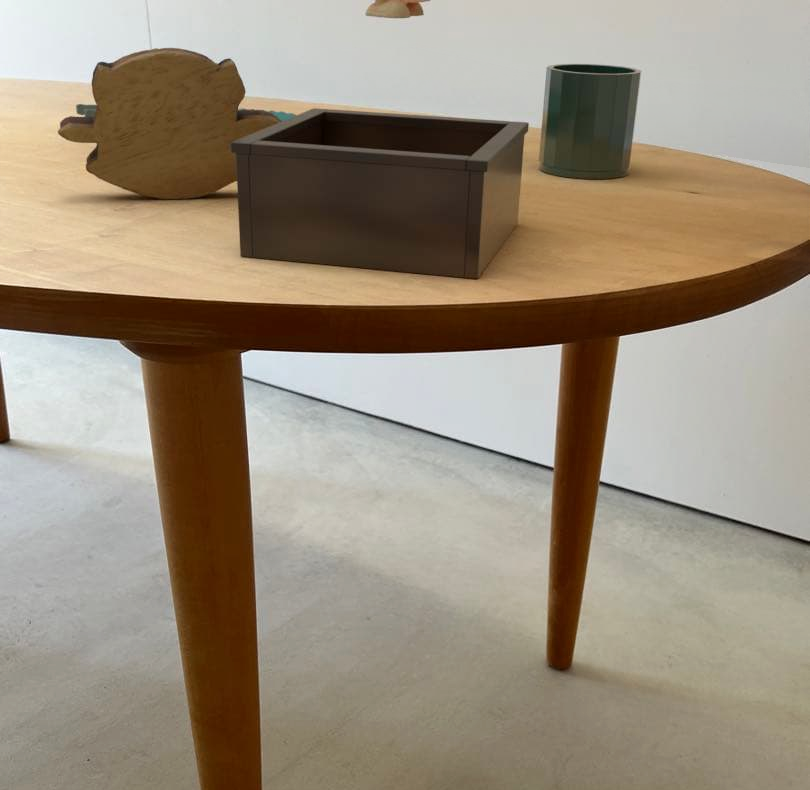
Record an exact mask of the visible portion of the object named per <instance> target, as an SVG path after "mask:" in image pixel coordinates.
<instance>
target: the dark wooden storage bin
mask: <svg viewBox="0 0 810 790" xmlns="http://www.w3.org/2000/svg"><path fill="white" fill-rule="evenodd" d="M295 115H296V116H294V117H291V118H289V119H287V120H284V121H282V122H279V123H277V124H274V125H272V126H270V127H267V128H265V129H262V130H260V131H257V132H255V133H253V134H250V135H248V136H245V137H243V138H240V139H238V140H236V141H233V142H231V152H232V153H236V166H237V181H236V186H237V188H236V189H237V206H238V207H237V208H238V230H239V231H238V232H239V233H238V234H239V253H240V257H245V258H255V259H264V260H265V259H266V260H277V261H286V262H296V263H307V264H318V265H327V266H328V265H329V266H337V267H349V268H359V269H369V270H379V271H389V272H401V273H409V274H410V273H411V274H422V275H430V276H431V275H433V276H443V277H451V278H452V277H453V278H462V279H463V278H465V279H474V280H478V279H479V277H480V276H481V275H482V273H483V272H484V271H485V269H486V268H487V267H488V265H489V263H491V261H492V260H493V258H494V257H495V255H496V254H497V253H498V251H499V250H500V249H501V247H502V246H503V244H504V243H505V241H506V240H507V239H508V238H509V236H510V235H511V234H512V232H513V231H514V229H515V228H516V227H517V225H518V223H519V211H520V198H521V185H522V172H523V160H524V159H523V158H524V145H525V135H526V134H527V133H528V132H529V124H530V123H529V122H525V121H509V120H495V119H483V118H482V119H481V118H467V117H466V118H465V117H464V118H463V117H450V116H435V115H421V114H420V115H419V114H407V113H389V112H374V111H362V110H361V111H360V110H346V109H328V108H315V107H314V108H311V109H309V110H306V111H304V112H301V113H299V114H295Z"/></svg>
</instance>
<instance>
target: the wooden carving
mask: <svg viewBox="0 0 810 790" xmlns="http://www.w3.org/2000/svg"><path fill="white" fill-rule="evenodd" d="M91 92H92V96H93V100H94V102H95V105H97V108H96V111H95V114H94V117H85V116H74V115H70V116H67V117H65V118H63V119H62V120H61V121H60V122H59V127H60V128H59V129H58V130H57V134H58V135H59V136H60V137H61V138H63V139H65V141H69V142H72V143H78V144H79V143H80V144H96V146H95V147H94V148H93V150H92V151H91V152H90V153H89V154H88V155H87V156H86V163H85V170H86V171H87V172H88V173H89V174H91V175H93V176H95V177H96V178H97V179H99V180H101V181H104V182H106V183H108V184H110V185H112V186H115V187H118V188H119V189H123V190H124V191H128V192H130V193H131V192H132V193H134V194H137V195H141V196H143V197H147V198H155V199H159V200H160V199H161V200H188V199H195V198H201V197H204V196H207V195H209V194H213V193H216V192H218V191H220V190H222V189H224V188H226V187H228V186H229V185H231V184H233V183H235V182H237V166H236V153H232V152H231V142H233V141H236V140H238V139H240V138H243V137H245V136H248V135H250V134H253V133H255V132H257V131H260V130H262V129H265V128H267V127H270V126H272V125H274V124H277V123H279V122H282V121H281V120H280V119H279V118H278V117H277V116H275V115H274V114H272V113H270V112H266V111H267V110H265V111H262V110H263V109H255V110H250V109H248V108H247V109H246V108H245V109H246V110H240V111H238V109H239V107H240V104H241V103H242V101H243V100H244V98H245V95H246V92H247V91H246V87H245V84H244V82H243V79H242V78H241V75H240V73H239V70H238V67H237V65H236V63H235V61H233V59H232V58H224V59H222V60H220V62H218V63H216V62H215V61H214V60H212V59H211V58H209V56H206V55H204V54H202V53H199V52H196V51H193V50H189V49H184V48H179V47H161V48H152V49H145V50H140V51H135V52H133V53H130V54H127V55H123V56H121V57H120V58H118V59H117V60H115V61H113V62H106V61H99V62H97V63H96V65H95V67H94V70H93V72H92V78H91Z"/></svg>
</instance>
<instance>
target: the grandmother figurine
mask: <svg viewBox="0 0 810 790" xmlns="http://www.w3.org/2000/svg"><path fill="white" fill-rule="evenodd" d="M430 1H431V0H374V2H373V3H371V4H370V5H369V6H368V7H367V9H366V11H365V16H367V17H373V18H374V17H376V18H383V19H384V18H385V19H408V18H411V17H420V16H421V17H422V16H424V15H425V14H424V13H425V12H424V10H423V7H422V5H421V4H420V3H425V2H430Z"/></svg>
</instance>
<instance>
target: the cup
mask: <svg viewBox="0 0 810 790" xmlns="http://www.w3.org/2000/svg"><path fill="white" fill-rule="evenodd" d="M641 78H642V70H641V69H637V68H635V67H628V66H623V65H610V64H595V63H559V64H551V65H548V66H547V67H546V71H545V80H544V81H545V82H544V92H543V106H542V107H543V108H542V117H541V128H540V129H541V130H540V133H541V134H540V144H539V154H538V157H539V158H538V162H539V163H538V169H539V170H540V171H542V172H544V173H546V174H548V175H553V176H558V177H562V178H570V179H583V180H609V179H611V180H612V179H618V178H623V177H626V176H628V175H629V174H630V166H631V163H632V155H633V146H634V137H635V130H636V129H635V128H636V121H637V113H638V103H639V97H640V96H639V95H640V86H641V80H642V79H641Z"/></svg>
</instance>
